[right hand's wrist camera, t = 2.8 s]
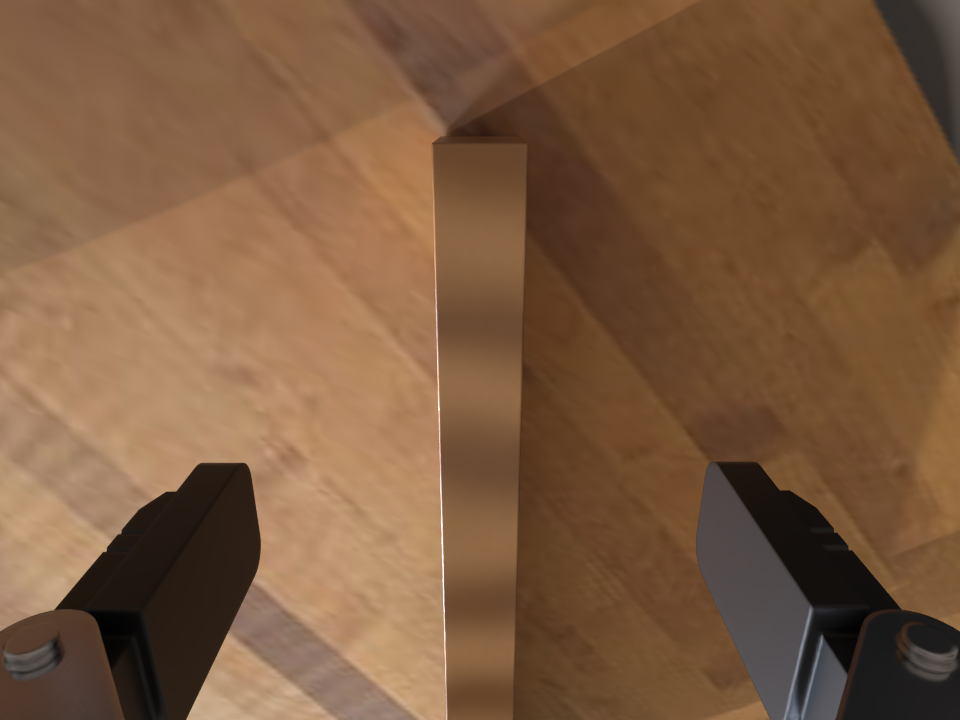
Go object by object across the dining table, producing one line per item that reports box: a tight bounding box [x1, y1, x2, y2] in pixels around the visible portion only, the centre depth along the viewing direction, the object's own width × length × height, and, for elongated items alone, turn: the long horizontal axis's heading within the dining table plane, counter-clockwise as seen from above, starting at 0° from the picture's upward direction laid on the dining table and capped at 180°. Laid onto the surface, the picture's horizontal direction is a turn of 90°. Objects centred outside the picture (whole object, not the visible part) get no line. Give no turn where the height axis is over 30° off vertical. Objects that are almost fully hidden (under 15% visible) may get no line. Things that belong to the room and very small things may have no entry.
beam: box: [432, 136, 528, 720], centre depth 41 cm, size 50×4×6 cm, turn 0°
